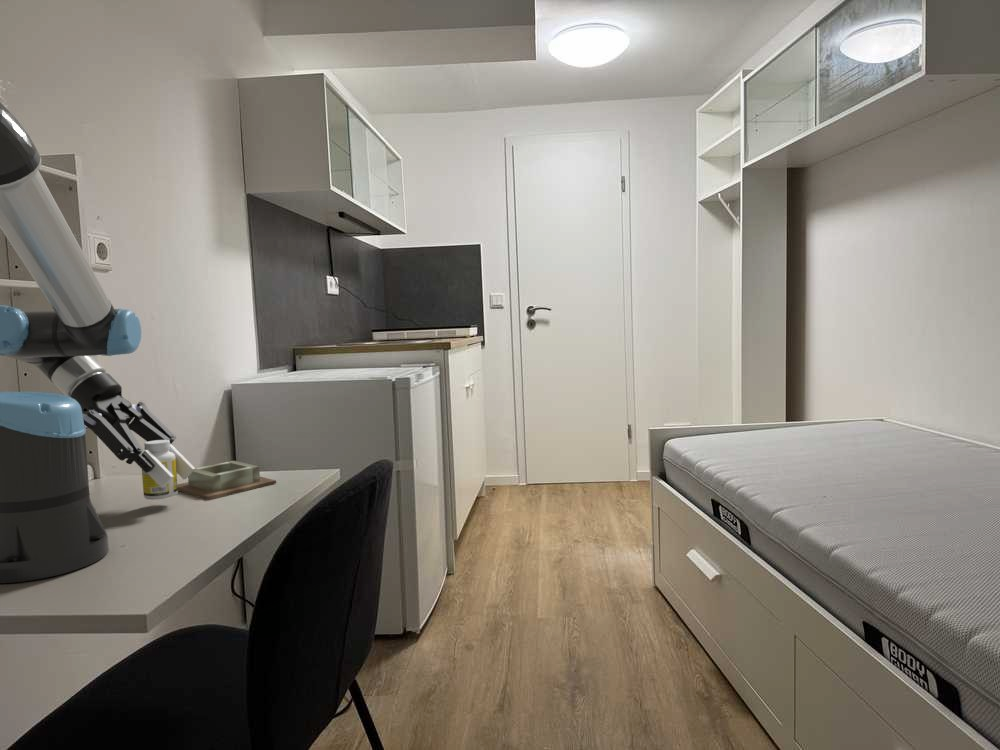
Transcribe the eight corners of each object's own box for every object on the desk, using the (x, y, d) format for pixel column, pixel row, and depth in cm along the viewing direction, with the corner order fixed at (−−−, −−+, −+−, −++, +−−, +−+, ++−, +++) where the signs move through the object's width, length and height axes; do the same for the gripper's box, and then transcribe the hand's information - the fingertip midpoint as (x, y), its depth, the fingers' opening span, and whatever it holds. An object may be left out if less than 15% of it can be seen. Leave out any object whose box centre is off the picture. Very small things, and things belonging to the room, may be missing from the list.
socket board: (208, 499, 120) (207, 480, 119) (172, 488, 128) (170, 470, 128) (276, 483, 131) (275, 465, 130) (238, 474, 139) (237, 457, 139)
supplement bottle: (164, 491, 120) (161, 438, 119) (184, 494, 117) (181, 439, 116) (136, 498, 115) (133, 443, 114) (157, 501, 112) (153, 445, 112)
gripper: (113, 395, 126) (197, 480, 125) (32, 407, 108) (129, 506, 107) (137, 367, 125) (221, 452, 124) (58, 374, 107) (157, 475, 106)
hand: (178, 477), depth 115 cm, fingers closed on supplement bottle, 5 cm apart
